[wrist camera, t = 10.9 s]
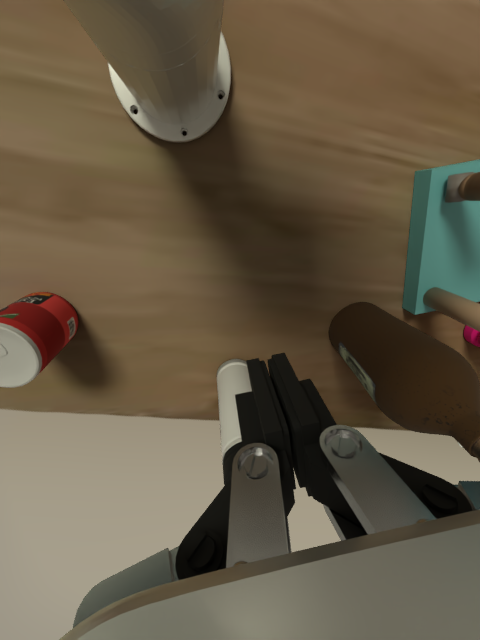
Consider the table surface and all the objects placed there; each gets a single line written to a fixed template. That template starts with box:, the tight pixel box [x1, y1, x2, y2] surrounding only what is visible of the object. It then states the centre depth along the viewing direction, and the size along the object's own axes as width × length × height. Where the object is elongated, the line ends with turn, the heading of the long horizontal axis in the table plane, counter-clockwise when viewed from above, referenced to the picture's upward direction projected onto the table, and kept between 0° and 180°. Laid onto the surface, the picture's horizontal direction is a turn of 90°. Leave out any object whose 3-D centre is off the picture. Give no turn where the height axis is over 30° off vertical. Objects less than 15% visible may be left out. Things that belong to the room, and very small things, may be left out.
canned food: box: [0, 292, 78, 388], centre depth 34 cm, size 8×8×11 cm
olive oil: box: [329, 302, 480, 462], centre depth 34 cm, size 11×11×25 cm
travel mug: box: [217, 359, 252, 485], centre depth 38 cm, size 6×7×20 cm
